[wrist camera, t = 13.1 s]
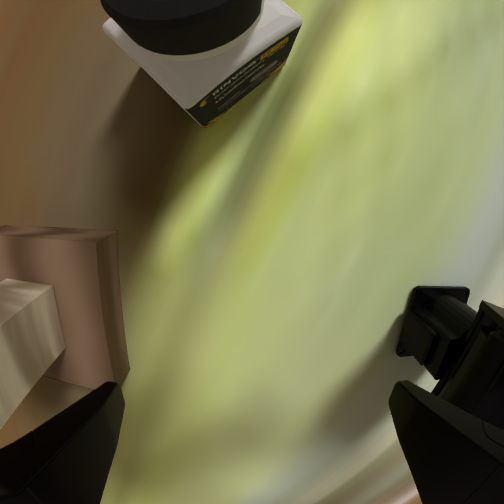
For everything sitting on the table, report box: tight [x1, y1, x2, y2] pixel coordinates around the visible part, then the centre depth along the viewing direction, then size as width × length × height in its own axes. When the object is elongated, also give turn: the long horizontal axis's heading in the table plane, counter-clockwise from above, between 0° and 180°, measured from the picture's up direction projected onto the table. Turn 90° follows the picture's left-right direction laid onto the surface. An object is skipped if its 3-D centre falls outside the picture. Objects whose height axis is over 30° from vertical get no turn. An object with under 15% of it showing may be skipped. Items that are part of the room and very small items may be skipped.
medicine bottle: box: [101, 0, 302, 128], centre depth 11 cm, size 7×7×12 cm
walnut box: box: [0, 225, 130, 389], centre depth 20 cm, size 12×12×4 cm
